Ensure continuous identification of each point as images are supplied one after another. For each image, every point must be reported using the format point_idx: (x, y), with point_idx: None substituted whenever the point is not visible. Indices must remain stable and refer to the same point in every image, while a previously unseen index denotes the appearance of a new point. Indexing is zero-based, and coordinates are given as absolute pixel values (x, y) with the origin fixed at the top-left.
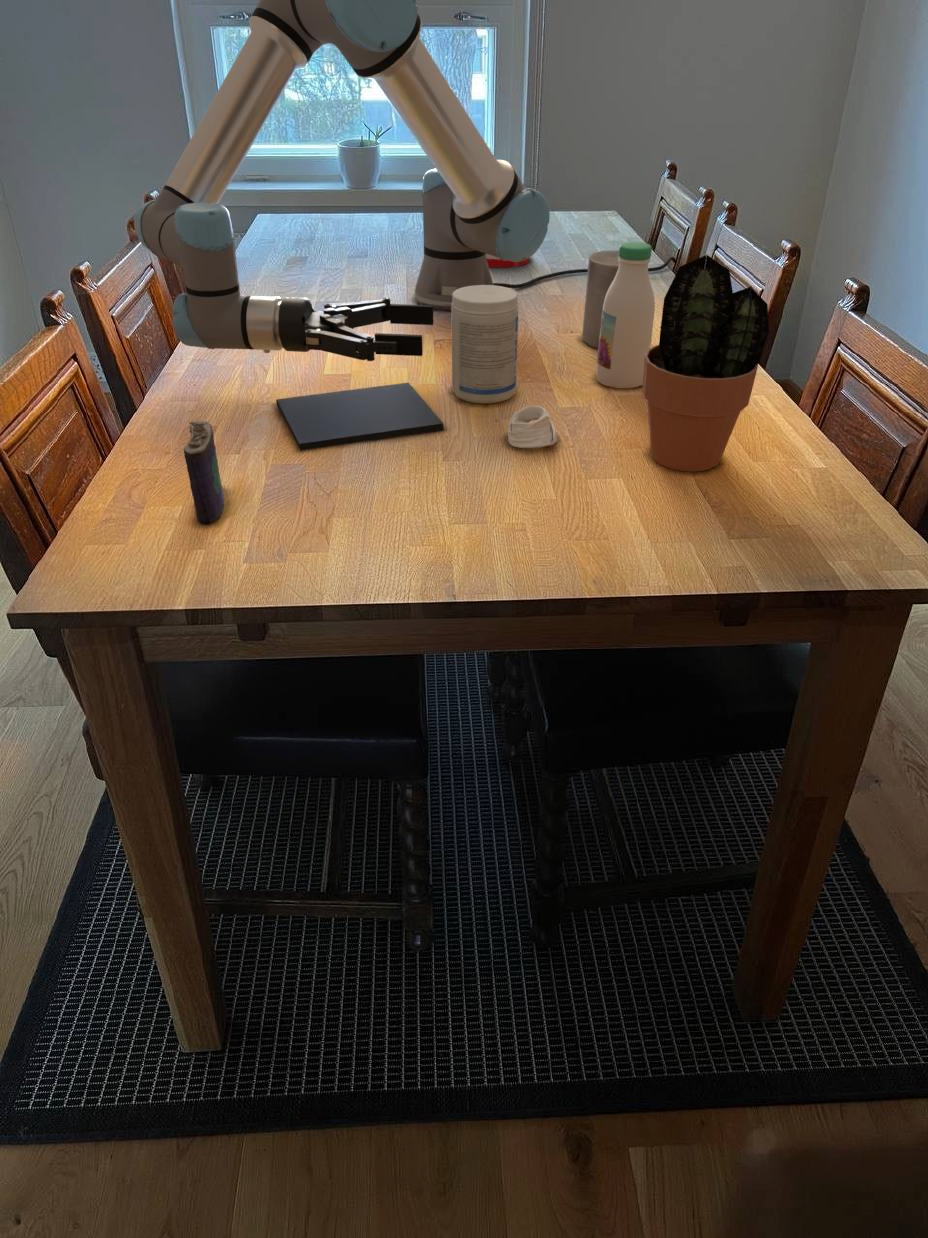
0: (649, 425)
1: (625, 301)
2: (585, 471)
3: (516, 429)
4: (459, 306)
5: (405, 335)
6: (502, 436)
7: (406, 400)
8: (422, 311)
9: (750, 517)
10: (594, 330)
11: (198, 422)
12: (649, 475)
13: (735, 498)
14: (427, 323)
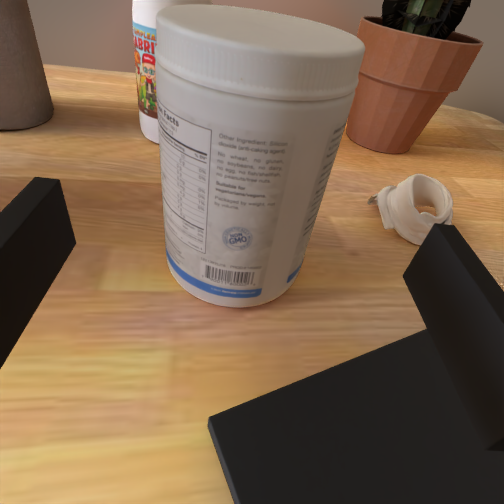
0: (404, 123)
1: (209, 3)
2: (455, 195)
3: (443, 220)
4: (340, 80)
5: (479, 268)
6: (409, 251)
7: (354, 411)
8: (44, 226)
9: (461, 137)
10: (17, 101)
11: None
12: (429, 162)
13: (436, 136)
14: (66, 254)
